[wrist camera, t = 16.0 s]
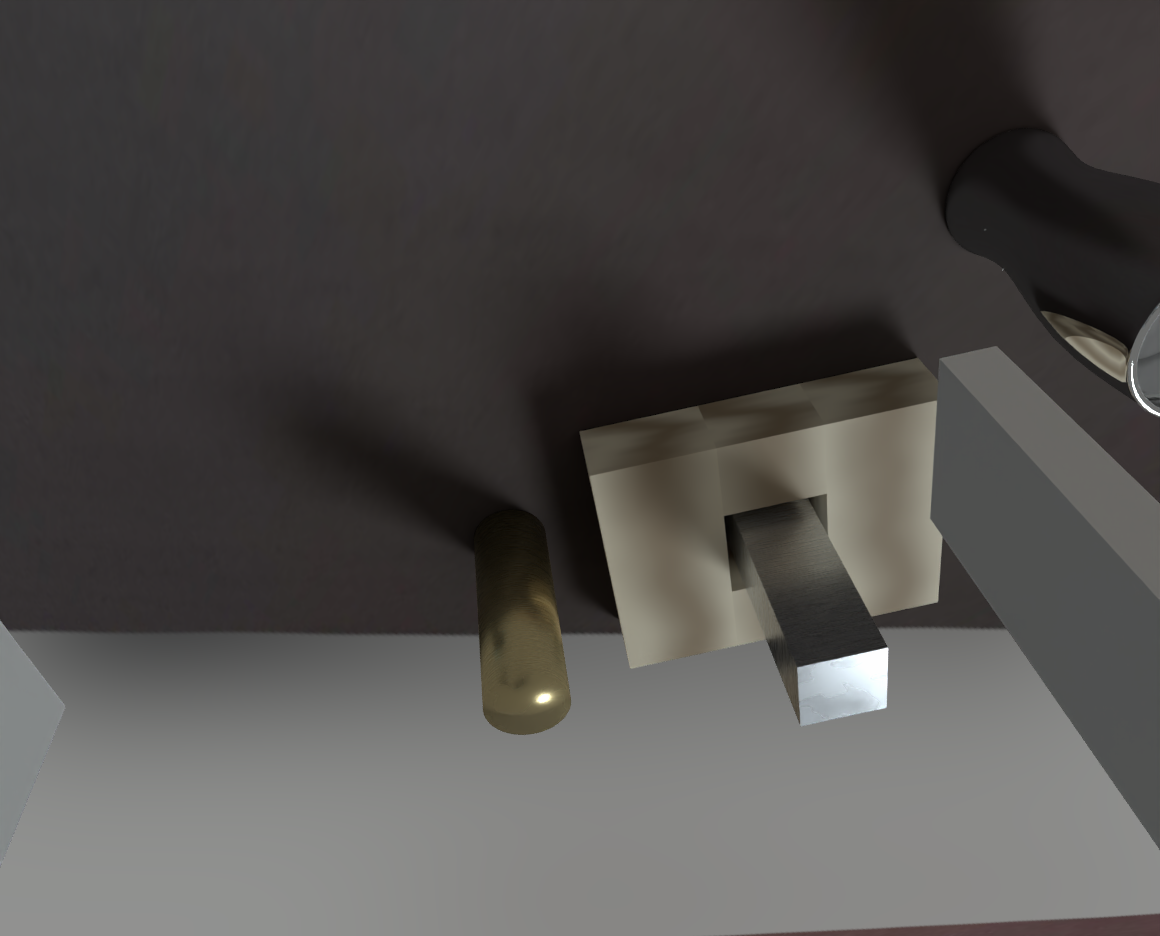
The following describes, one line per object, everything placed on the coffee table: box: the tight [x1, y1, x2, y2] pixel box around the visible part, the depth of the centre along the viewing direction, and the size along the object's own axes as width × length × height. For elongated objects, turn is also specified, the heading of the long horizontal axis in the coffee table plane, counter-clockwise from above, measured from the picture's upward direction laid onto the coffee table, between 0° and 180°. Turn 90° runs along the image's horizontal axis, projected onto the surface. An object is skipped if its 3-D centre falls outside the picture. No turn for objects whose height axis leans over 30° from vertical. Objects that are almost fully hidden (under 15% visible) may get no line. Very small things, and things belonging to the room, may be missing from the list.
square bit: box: [724, 498, 888, 726], centre depth 47 cm, size 4×4×14 cm
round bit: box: [474, 510, 571, 735], centre depth 48 cm, size 4×4×12 cm
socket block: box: [579, 358, 942, 669], centre depth 51 cm, size 18×14×4 cm
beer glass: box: [945, 128, 1160, 417], centre depth 38 cm, size 7×7×15 cm
